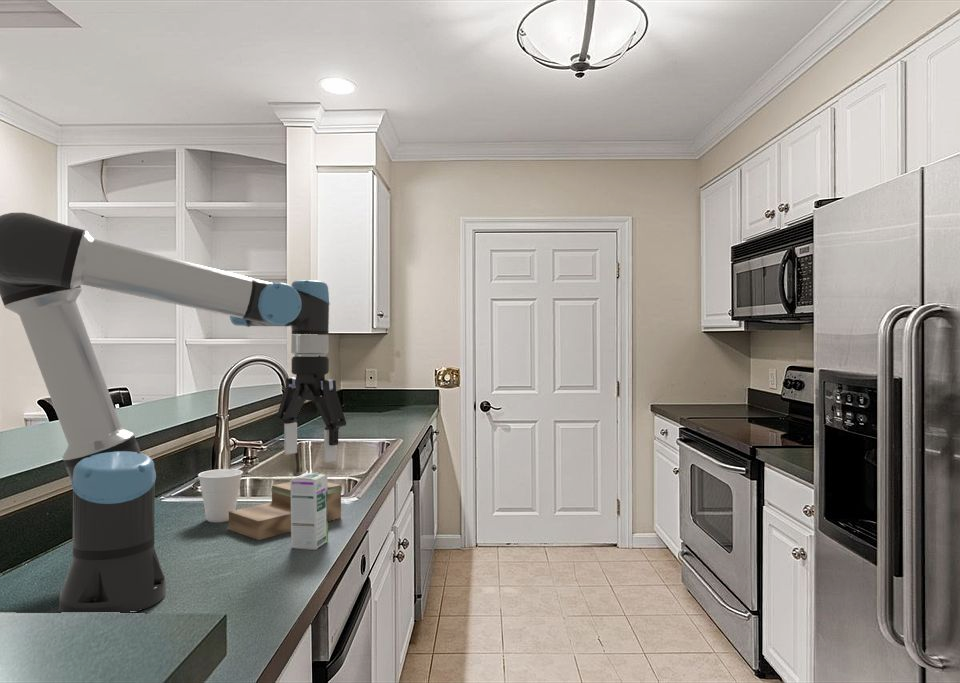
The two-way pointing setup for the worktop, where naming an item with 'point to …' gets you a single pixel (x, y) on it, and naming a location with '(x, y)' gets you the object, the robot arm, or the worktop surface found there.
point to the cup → (220, 492)
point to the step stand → (277, 513)
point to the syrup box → (309, 511)
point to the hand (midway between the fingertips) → (310, 457)
